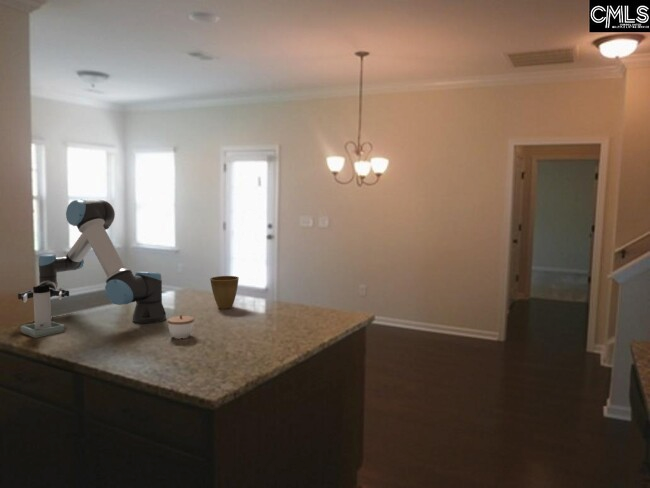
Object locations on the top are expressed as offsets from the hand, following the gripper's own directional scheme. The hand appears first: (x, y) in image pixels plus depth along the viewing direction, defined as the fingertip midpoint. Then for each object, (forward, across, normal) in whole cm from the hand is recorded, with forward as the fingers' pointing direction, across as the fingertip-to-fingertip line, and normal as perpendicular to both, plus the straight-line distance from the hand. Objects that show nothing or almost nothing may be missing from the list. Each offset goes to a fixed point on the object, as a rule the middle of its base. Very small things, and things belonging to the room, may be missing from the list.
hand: (42, 298), depth 214 cm
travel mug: (+6, 0, -13) cm, 14 cm away
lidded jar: (+36, -54, -14) cm, 66 cm away
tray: (+6, 0, -14) cm, 15 cm away
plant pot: (-11, -84, -14) cm, 85 cm away
